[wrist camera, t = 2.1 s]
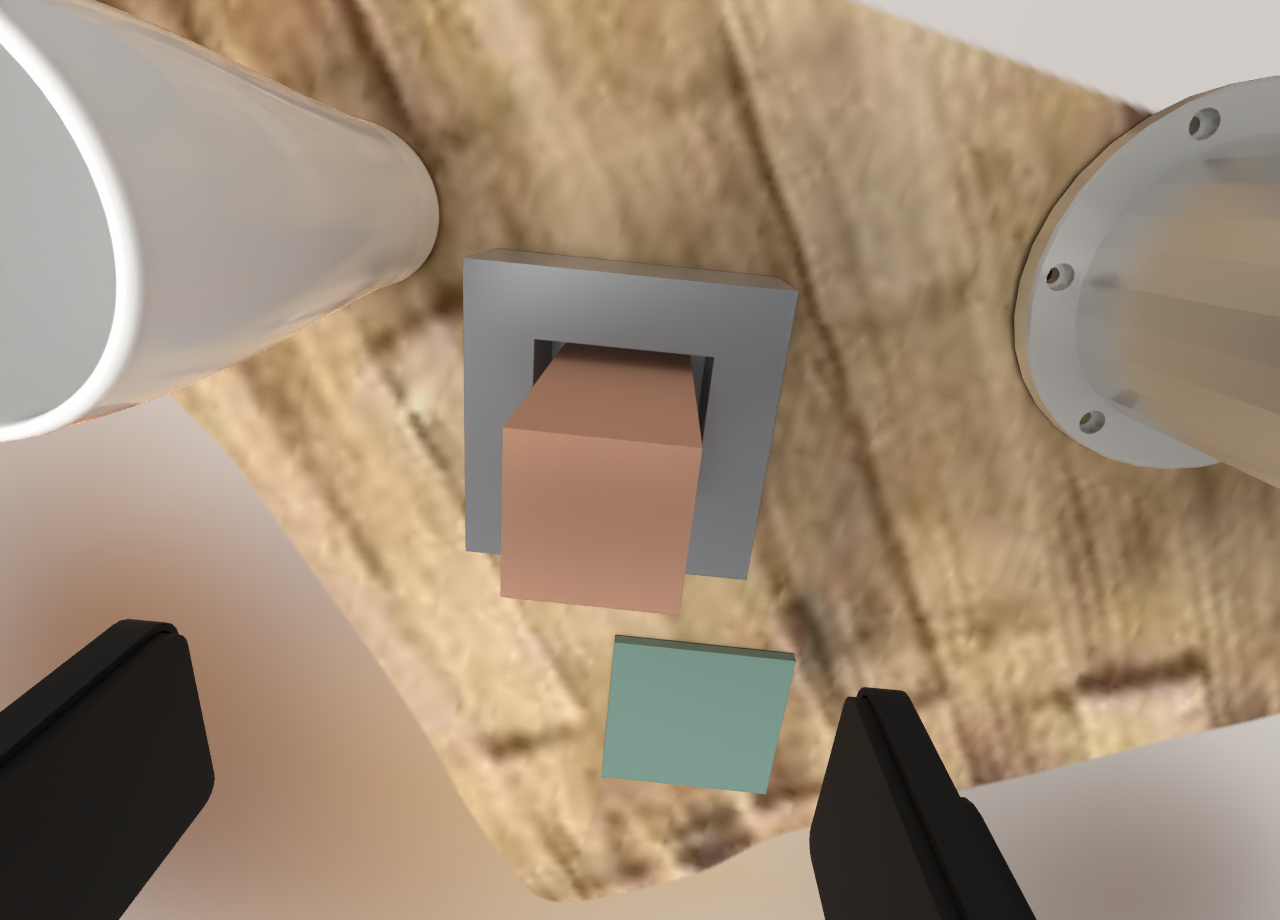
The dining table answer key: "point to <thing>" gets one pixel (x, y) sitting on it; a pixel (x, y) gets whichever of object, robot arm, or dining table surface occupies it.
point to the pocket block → (635, 319)
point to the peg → (602, 481)
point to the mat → (695, 713)
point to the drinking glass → (174, 213)
